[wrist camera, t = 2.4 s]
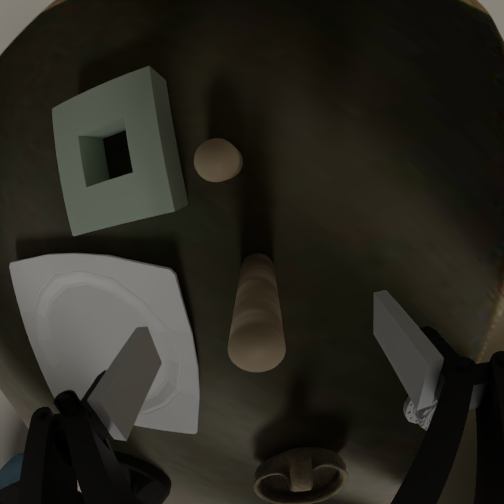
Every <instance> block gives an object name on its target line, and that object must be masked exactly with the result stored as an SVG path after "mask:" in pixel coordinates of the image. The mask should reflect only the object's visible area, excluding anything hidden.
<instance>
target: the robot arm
mask: <svg viewBox="0 0 504 504" xmlns="http://www.w3.org/2000/svg"><path fill="white" fill-rule="evenodd" d="M373 334H374V335H375V337H376V339H377V340H378V342H379V344H380V346H381V347H382V349H383V351H384V352H385V354H386V356H387V358H388V359H389V361H390V363H391V365H392V366H393V368H394V370H395V372H396V373H397V375H398V377H399V379H400V381H401V382H402V384H403V386H404V388H405V390H406V391H407V393H408V395H409V397H410V399H411V401H412V403H413V404H414V406H415V408H416V410H420V409H423V408H426V407H428V406H431V405H432V402H433V399H434V396H435V398H436V400H437V401H438V402H437V405H436V408H435V411H434V413H433V416H432V419H431V421H430V424H429V427H428V429H427V432H426V434H425V436H424V439H423V441H422V444H421V446H420V448H419V450H418V453H417V455H416V457H415V459H414V461H413V463H412V465H411V467H410V469H409V471H408V473H407V475H406V477H405V479H404V481H403V483H402V485H401V486H400V488H399V490H398V492H397V494H396V495H395V497H394V499H393V501H392V502H391V504H437V502H438V499H439V497H440V495H441V492H442V490H443V488H444V486H445V483H446V481H447V478H448V475H449V473H450V470H451V468H452V465H453V462H454V459H455V456H456V453H457V450H458V447H459V444H460V441H461V437H462V434H463V430H464V426H465V423H466V419H467V414H468V411H469V409H472V408H476V421H477V474H476V488H475V498H474V504H504V351H499V352H496V353H494V354H493V355H492V357H491V359H490V362H486V363H479V364H475V362H474V361H473V360H471V359H470V358H467V357H459V356H458V355H457V354H456V352H455V351H454V350H453V349H452V348H451V347H450V345H449V344H448V343H447V342H445V340H444V339H443V338H442V337H441V335H440V334H439V333H438V332H437V331H436V330H435V329H433V328H431V327H429V326H426V327H423V328H419V327H418V326H417V325H416V324H415V322H414V321H413V320H412V319H411V318H410V317H409V315H408V314H407V313H406V312H405V311H404V310H403V309H402V307H401V306H400V305H399V304H398V303H397V302H396V301H395V300H394V298H393V297H392V296H391V295H390V294H389V293H388V292H387V291H386V290H384V291H379V292H375V293H374V331H373ZM161 364H162V362H161V359H160V357H159V355H158V352H157V350H156V347H155V345H154V342H153V339H152V337H151V334H150V332H149V329H148V326H146V327H137V328H136V329H135V330H134V332H133V333H132V335H131V336H130V337H129V339H128V340H127V342H126V343H125V345H124V346H123V347H122V349H121V350H120V352H119V353H118V355H117V356H116V357H115V359H114V360H113V362H112V363H111V365H110V366H109V368H108V369H107V370H104V371H103V372H102V373H100V374H99V375H98V376H97V377H96V379H95V380H94V383H92V385H91V386H90V388H89V389H88V391H87V392H86V394H85V395H84V397H83V398H82V400H81V401H80V399H79V398H78V396H77V394H76V393H75V391H73V390H66V391H63V392H61V393H59V394H58V395H57V396H56V397H55V399H54V404H55V406H56V407H57V409H58V410H59V411H60V413H59V414H53V412H52V411H51V410H50V408H48V407H42V408H39V409H37V410H36V411H35V412H34V413H33V415H32V418H31V422H30V427H29V432H28V435H27V440H26V445H25V450H24V453H18V454H16V455H15V456H14V457H13V458H11V460H9V461H8V462H7V463H6V464H5V465H4V466H3V468H1V470H0V504H162V503H163V502H164V501H165V499H166V498H167V497H168V495H169V493H170V489H171V481H170V480H169V478H168V477H167V476H166V475H165V474H164V473H162V472H161V471H159V470H158V469H156V468H155V467H153V466H151V465H149V464H148V463H145V462H143V461H141V460H139V459H136V458H134V457H131V456H128V455H125V454H121V453H117V452H113V450H112V447H111V445H110V443H109V441H108V439H107V438H106V435H107V433H108V432H109V433H110V435H111V436H112V437H113V439H115V440H122V441H127V439H128V437H129V434H130V432H131V430H132V428H133V425H134V423H135V421H136V419H137V416H138V414H139V412H140V410H141V407H142V405H143V403H144V401H145V399H146V396H147V394H148V392H149V390H150V388H151V385H152V383H153V381H154V379H155V377H156V375H157V373H158V370H159V368H160V366H161ZM77 480H78V483H79V486H80V489H81V492H82V493H81V492H79V491H78V490H77Z"/></svg>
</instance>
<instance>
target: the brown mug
mask: <svg viewBox="0 0 504 504" xmlns="http://www.w3.org/2000/svg"><path fill="white" fill-rule="evenodd" d="M345 469H346V465H345V463H344V462H343V459H342V458H341V457H340V456H339V455H338V454H337V453H335V452H333V451H331V450H328V449H324V448H319V447H298V448H293V449H289V450H287V451H284V452H282V453H280V454H277V455H275V456H273V457H271V458H269V459H267V460H265V461H264V462H262V463H261V464H260V465H259V467H258V468H257V470H256V472H255V475H254V479H255V481H254V491H255V493H256V494H257V495H258V496H259V497H260V498H262V499H264V500H266V501H269V502H272V503H275V504H312V503H317V502H321V501H323V500H326V499H328V498H330V497H331V496H333V495H335V494H337V493H338V492H339V491H341V490H342V489H344V488H345V486H346V485H347V483H348V473H347V471H346V470H345Z"/></svg>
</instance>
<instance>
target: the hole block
mask: <svg viewBox="0 0 504 504" xmlns="http://www.w3.org/2000/svg"><path fill="white" fill-rule="evenodd" d="M52 117H53V129H54V138H55V147H56V154H57V161H58V168H59V174H60V180H61V185H62V191H63V196H64V201H65V205H66V210H67V214H68V219H69V223H70V227H71V231H72V235H73V236H77V235H80V234H84V233H88V232H92V231H95V230H99V229H103V228H107V227H111V226H115V225H119V224H123V223H127V222H131V221H135V220H139V219H144V218H148V217H152V216H157V215H161V214H166V213H170V212H175V211H177V210H179V209H180V208H182V207H184V206H186V205H188V199H187V195H186V190H185V185H184V180H183V175H182V170H181V165H180V160H179V154H178V149H177V143H176V138H175V132H174V127H173V121H172V115H171V109H170V103H169V96H168V90H167V83H166V80H165V79H164V78H163V77H162V76H160V75H159V74H158V73H157V72H156V71H155V70H154V69H153V68H151V67H150V66H147V67H144V68H142V69H139V70H136V71H133V72H131V73H128V74H125V75H123V76H120V77H118V78H115V79H113V80H110V81H108V82H106V83H103V84H101V85H99V86H96V87H94V88H92V89H90V90H88V91H86V92H83V93H81V94H79V95H77V96H75V97H73V98H71V99H69V100H67V101H65V102H64V103H62V104H60V105H58V106H56V107H54V108H52ZM123 131H126V135H127V142H128V148H129V153H130V159H131V164H132V170H133V173H129V174H126V175H123V176H120V177H116V178H113V179H110V177H109V172H108V166H107V161H106V155H105V149H104V142H103V139H104V138H106V137H109V136H112V135H114V134H117V133H120V132H123Z"/></svg>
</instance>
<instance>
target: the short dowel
mask: <svg viewBox="0 0 504 504" xmlns="http://www.w3.org/2000/svg"><path fill="white" fill-rule="evenodd" d="M194 165H195V168H196V171H197V172H198V174H199V175H200V176H201V177H202V178H204V179H205V180H208V181H211V182H220V181H224V180H227V179H230V178H233V177H235V176H236V175H237V174H238V173H239V172H240V171H241V169H242V166H243V158H242V155H241V153H240V152H239V151H238V150H237V149H236V148H235V147H234V146H233V145H232V144H231V143H230V142H228V141H227V140H224V139H221V138H213V139H209V140H207V141H205V142H203V143H202V144H201V145H200V146H199V147H198V149H197V150H196V153H195V156H194Z"/></svg>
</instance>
